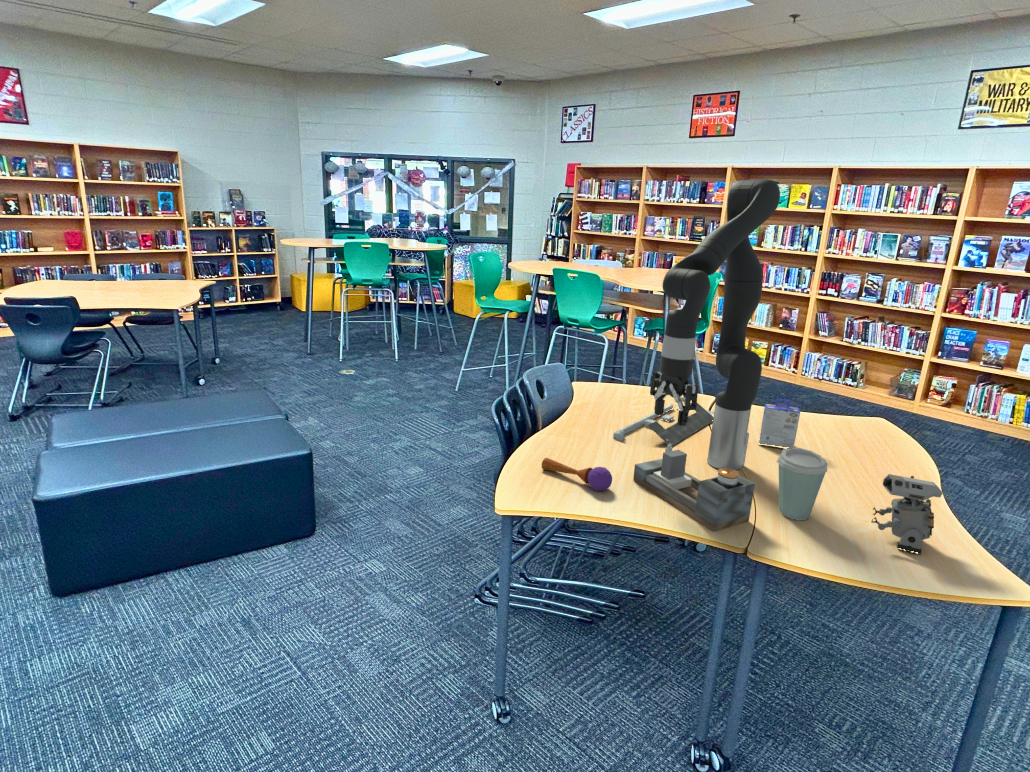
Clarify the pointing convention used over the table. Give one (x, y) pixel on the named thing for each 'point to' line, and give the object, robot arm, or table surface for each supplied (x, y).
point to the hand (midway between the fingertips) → (669, 419)
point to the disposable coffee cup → (799, 481)
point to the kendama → (583, 474)
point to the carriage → (674, 469)
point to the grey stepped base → (701, 497)
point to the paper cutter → (672, 432)
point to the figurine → (909, 510)
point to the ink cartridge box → (779, 424)
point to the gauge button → (728, 478)
